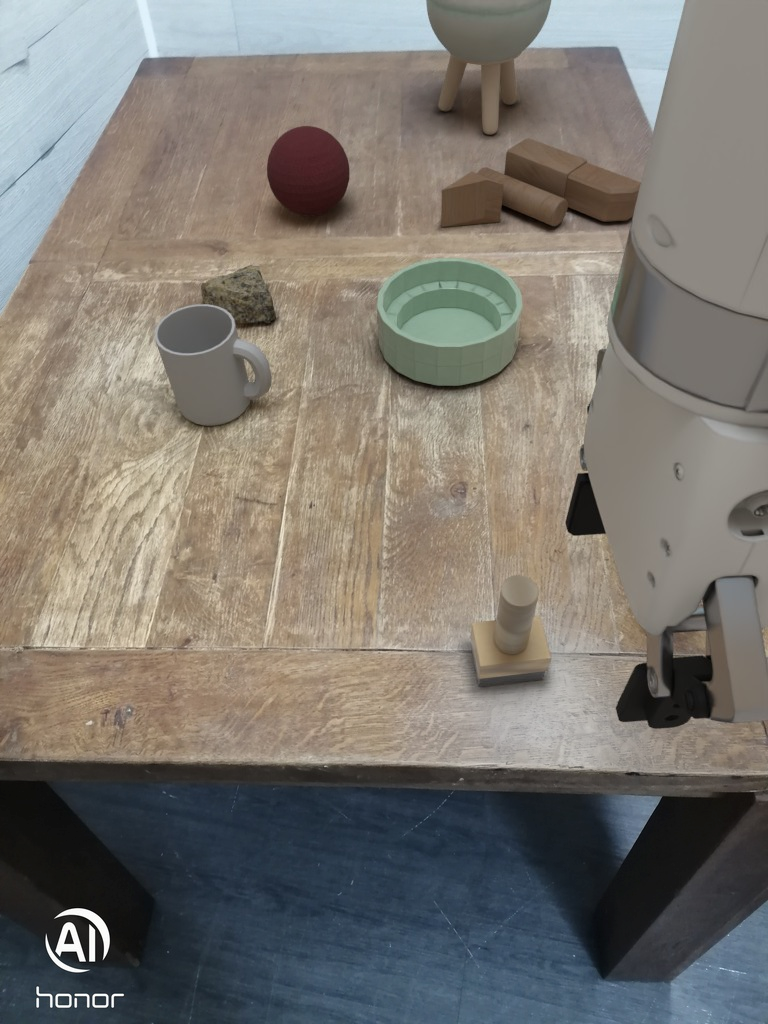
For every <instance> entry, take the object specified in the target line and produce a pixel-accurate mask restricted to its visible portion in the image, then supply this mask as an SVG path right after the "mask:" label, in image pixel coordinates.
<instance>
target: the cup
mask: <svg viewBox="0 0 768 1024" xmlns="http://www.w3.org/2000/svg"><path fill="white" fill-rule="evenodd" d="M154 340H155V344H156V347H157V349H158V353H159V355H160V359H161V362H162V364H163V368H164V370H165V373H166V376H167V379H168V382H169V385H170V387H171V391H172V394H173V396H174V399H175V403H176V404H177V407H178V409H179V411H180V413H181V415H182V416H183V417H184V418H185V419H186V420H188V421H190V422H192V423H194V424H196V425H199V426H204V427H215V426H220V425H225V424H227V423H231V422H232V421H234V420H236V419H237V418H239V417H240V416H241V415H242V414H243V413H244V412H245V411H246V409H247V408H248V406H249V404H250V403H251V400H257V399H260V398H261V397H263V396H264V395H266V394H267V393H268V392H269V391H270V389H271V387H272V379H273V378H272V372H271V367H270V362H269V360H268V358H267V356H266V355H265V353H264V352H263V351H262V350H261V348H260V347H258V346H257V345H256V344H255V343H253V342H251V341H248V340H246V339H241V338H239V334H238V329H237V326H236V321H235V320H234V318H233V317H232V315H231V314H230V313H229V312H228V311H227V310H225V309H223V308H221V307H218V306H214V305H209V304H204V303H203V304H202V303H199V304H190V305H186V306H183V307H180V308H177V309H175V310H173V311H171V312H170V313H168V314H166V315H165V316H164V317H163V318H162V319H161V320H160V321H159V322H158V324H157V325H156V327H155V330H154ZM245 361H247V362H248V364H249V365H250V367H251V369H252V371H253V374H254V381H250V380H249V377H248V373H247V368H246V363H245Z"/></svg>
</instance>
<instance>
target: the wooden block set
mask: <svg viewBox="0 0 768 1024" xmlns="http://www.w3.org/2000/svg"><path fill="white" fill-rule="evenodd" d="M504 163H505V164H504V172H503V173H501V172H500V171H497V170H494V169H493V168H489V167H486V166H485V167H482V168H480V169H479V170H478V171H477V172H474V171H470V172H469V173H467V174H465V175H464V176H462V177H461V178H459V179H457V180H455V181H454V182H452V183H451V184H449V185H448V186H446V187H444V188H443V189H441V208H440V209H441V211H440V212H441V213H440V228H447V227H460V226H461V227H462V226H470V225H471V226H473V225H481V224H483V225H484V224H493V223H501V217H502V216H501V215H502V206H505V207H507V208H509V209H511V210H513V211H516V212H519V213H521V214H523V215H526V216H528V217H530V218H533V219H535V220H537V221H539V222H542V223H545V224H547V225H549V226H552V227H557V226H558V225H560V224H561V223H562V221H563V220H564V219H565V217H566V215H567V211H568V208H569V209H571V210H574V211H577V212H578V213H581V214H584V215H586V216H589V217H590V218H593V219H596V220H598V221H601V222H604V223H605V222H606V223H608V222H626V221H628V220H630V219H632V218H633V214H634V209H635V205H636V201H637V197H638V193H639V189H640V184H641V181H638V180H635V179H632V178H630V177H628V176H624V175H622V174H620V173H617V172H614V171H611V170H608V169H605V168H603V167H600V166H598V165H595V164H592V163H589V162H588V160H587V159H586V158H583V157H581V156H579V155H575V154H573V153H570V152H567V151H565V150H562V149H559V148H556V147H554V146H551V145H548V144H545V143H543V142H540V141H538V140H535V139H532V138H529V137H528V138H525V139H523V140H522V141H520V142H518V143H517V144H515V145H513V146H512V147H510V148H508V149H507V150H506V152H505V161H504Z"/></svg>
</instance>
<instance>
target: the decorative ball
mask: <svg viewBox="0 0 768 1024" xmlns="http://www.w3.org/2000/svg"><path fill="white" fill-rule="evenodd" d="M266 178H267V181H268V185H269V187H270V190H271V192H272V194H273V196H274V197H275V198H276V200H277V201H278V202H279V204H280V205H282V207H284V208H285V209H286V210H288V211H289V212H292V213H294V214H296V215H299V216H304V217H315V216H320V215H321V216H322V215H325V214H326V213H328V212H330V211H331V210H332V209H334V208H335V207H336V206H337V205H339V203H340V202H341V201H342V199H343V198H344V196H345V194H346V192H347V189H348V186H349V182H350V164H349V159H348V156H347V153H346V151H345V149H344V147H343V145H342V144H341V143H340V142H339V140H338V139H337V138H336V137H335V136H334V135H332V134H331V133H330V132H328V131H327V130H325V129H323V128H320V127H316V126H312V125H301V126H297V127H293V128H291V129H289V130H287V131H285V132H284V133H283V134H282V135H280V136H279V137H278V138H277V139H276V140H275V142H274V143H273V145H272V147H271V149H270V152H269V154H268V156H267V164H266Z"/></svg>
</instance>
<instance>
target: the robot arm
mask: <svg viewBox="0 0 768 1024" xmlns="http://www.w3.org/2000/svg"><path fill="white" fill-rule="evenodd" d="M681 11H682V12H681V16H680V21H679V24H678V28H677V32H676V36H675V40H674V44H673V48H672V52H671V56H670V61H669V65H668V69H667V72H666V75H665V76H666V77H665V81H664V85H663V88H662V93H661V98H660V102H659V106H658V109H657V114H656V118H655V122H654V126H653V130H652V131H653V132H652V135H651V139H650V142H649V143H650V144H649V148H648V151H647V154H646V155H647V156H646V160H645V164H644V167H643V171H642V176H641V180H640V182H641V184H640V189H639V193H638V197H637V201H636V205H635V209H634V214H633V216H632V217H631V222H630V227H629V230H628V233H627V234H628V235H627V238H626V243H625V247H624V251H623V256H622V259H621V264H620V268H619V272H618V276H617V280H616V284H615V287H614V292H613V297H612V301H611V303H610V307H609V311H608V315H607V325H606V326H607V327H606V331H607V337H608V343H607V347H606V348H601V349H599V350H598V353H597V355H596V356H597V357H596V371H595V372H596V373H595V385H594V388H593V392H592V396H591V399H590V402H589V403H588V405H587V406H586V413H587V417H586V422H585V428H584V436H583V444H581V445H580V449H579V463H580V467H581V470H582V471H583V472H578V473H577V474H576V479H575V482H574V487H573V489H572V494H571V497H570V498H571V499H570V501H569V506H568V509H567V514H566V518H565V522H564V523H565V528H566V529H567V533H568V534H571V535H572V536H575V537H579V536H593V535H606V539H607V542H608V544H609V549H610V551H611V555H612V558H613V560H614V561H613V562H614V564H615V567H616V570H617V573H618V576H619V579H620V582H621V585H622V588H623V591H624V594H625V597H626V600H627V603H628V605H629V608H630V611H631V613H632V615H633V617H634V619H635V621H636V622H637V623H638V624H639V626H641V627H642V628H643V629H644V631H646V662H641V663H638V664H637V665H635V666H634V668H633V670H632V672H631V674H630V676H629V678H628V680H627V682H626V684H625V686H624V688H623V690H622V693H621V694H620V697H619V699H618V701H617V704H616V706H615V711H616V715H617V716H616V717H617V718H618V721H619V722H620V723H633V722H647V725H648V727H649V728H650V729H656V730H659V729H672V728H678V727H681V726H683V725H685V724H687V723H688V722H689V721H690V720H691V719H695V720H699V719H708V720H710V721H714V722H721V723H726V724H737V723H738V724H739V723H752V722H766V721H768V661H767V653H766V648H765V642H764V637H763V636H764V635H763V631H762V630H764V629H767V628H768V0H684V4H683V7H682V10H681ZM701 602H702V604H701ZM693 632H705V653H704V654H705V655H702V654H701V655H689V656H677V657H674V634H678V633H679V634H680V633H693Z"/></svg>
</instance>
